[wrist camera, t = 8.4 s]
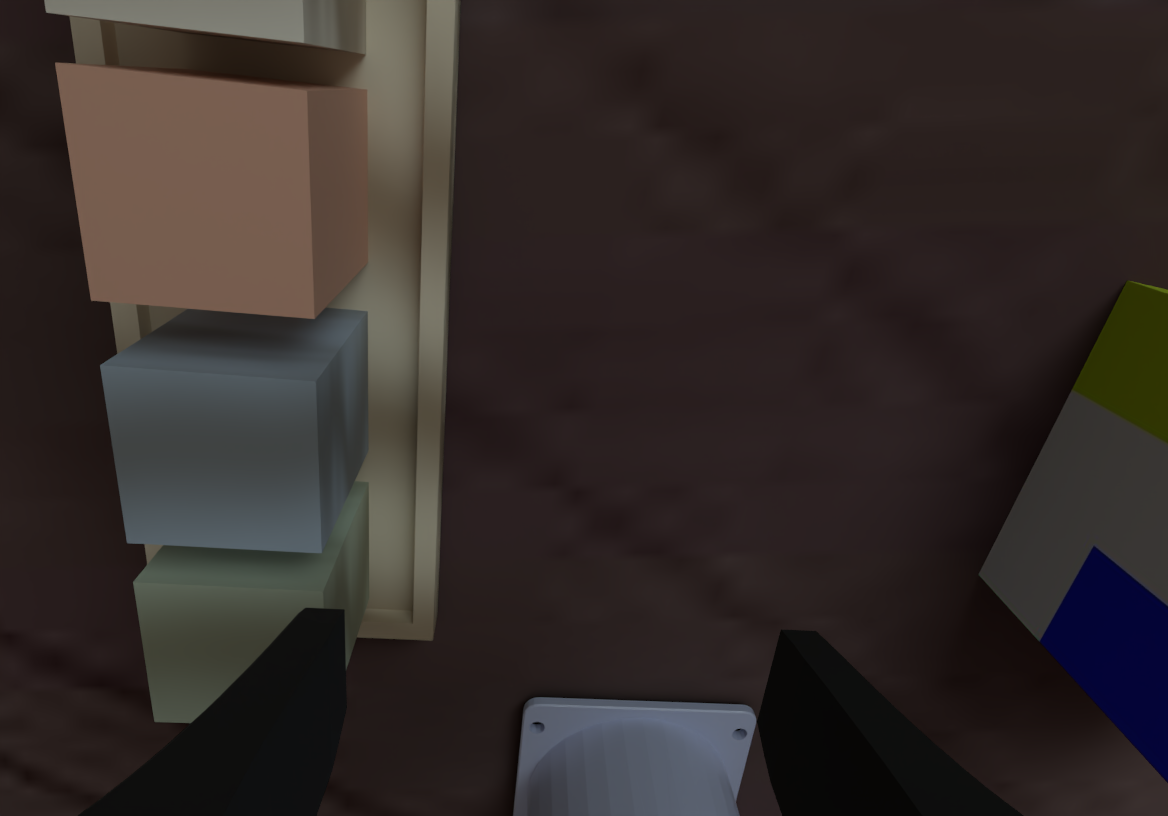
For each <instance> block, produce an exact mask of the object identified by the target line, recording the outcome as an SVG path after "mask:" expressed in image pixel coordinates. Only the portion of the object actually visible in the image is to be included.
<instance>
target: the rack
mask: <svg viewBox="0 0 1168 816" xmlns="http://www.w3.org/2000/svg"><path fill="white" fill-rule="evenodd" d="M44 1H45V8H46V13H53V14H60V15H66V16H70V23H71V30H72V37H73V45H74V52H75V59H76V64H95V65H116V66H136V67H156V68H177V69H191V70H199V71H208V72H217V73H226V74H235V75H244V76H252V77H261V78H270V79H279V80H288V81H297V82H305V83H314V84H323V85H332V86H341V87H349V88H358V89H367V112H368V263H367V264H366V265H365V266H364V267H363V268H362V269H361V270H360V271H359V272H358V274H357V275H356V276H355V277H354V278H353V279H352V280H351V281H350V282H349V283H348V284H347V285H346V286H345V287H344V288H343V289H342V291H341V292H340V293H339V294H338V295H337V296H336V297H335V298H334V299H333V300H332V301H331V302H330V303H329V304H328V305H327V306H326V308H325V309H324V310H323V311H322V312H321V313H320V314H319V315H318V316H317V317H316V318H315V319H307V318H295V317H283V316H271V315H259V314H247V313H235V312H223V311H211V310H199V309H187V308H175V307H163V306H151V305H139V304H127V303H115V302H110V305H111V312H112V319H113V326H114V333H115V340H116V347H117V355H115V356H114V357H112V358H111V359H109V360H107V361H106V362H104V363H103V364H101V365H100V368H101V375H102V381H103V388H104V394H105V401H106V408H107V414H108V421H109V427H110V434H111V440H112V447H113V453H114V460H115V467H116V473H117V480H118V486H119V493H120V499H121V506H122V512H123V519H124V526H125V532H126V539H127V543H134V544H145V551H146V558H147V566H146V567H145V568H144V569H143V571H142V572H141V573H140V574H139V576H138V577H137V578H136V579H135V581H134V582H133V585H134V591H135V598H136V604H137V611H138V617H139V624H140V631H141V637H142V644H143V650H144V657H145V663H146V670H147V676H148V683H149V690H150V696H151V703H152V709H153V716H154V722H173V723H192V722H193V721H194V720H195V719H196V718H197V717H198V716H199V715H200V714H201V713H203V712H204V711H205V710H206V709H207V708H208V707H209V706H210V705H211V704H212V703H213V702H214V701H215V700H216V699H217V698H218V697H219V696H220V695H221V694H222V693H223V692H224V691H225V690H226V689H227V688H228V687H229V686H230V685H231V684H232V683H233V682H234V681H235V680H236V679H237V678H238V677H239V676H240V675H241V674H242V673H243V672H244V671H245V670H246V669H247V668H248V667H249V666H250V665H251V664H252V663H253V662H254V661H255V660H256V659H257V658H258V657H259V656H260V655H261V654H262V653H263V651H264V650H265V649H266V648H267V647H268V646H269V645H270V644H271V643H272V642H273V641H274V640H275V639H276V637H277V636H278V635H279V634H280V633H281V632H282V631H283V630H284V629H285V628H286V626H287V625H288V624H289V623H290V622H291V621H292V620H293V619H294V618H295V616H296V615H297V614H298V613H299V612H301V611H302V610H303V609H304V608H325V609H345V653H346V669H347V666H348V663H349V660H350V657H351V654H352V650H353V647H354V644H355V641H356V638H357V637H361V638H384V639H408V640H431V641H433V637H434V631H435V626H436V620H437V613H438V587H439V560H440V534H441V507H442V481H443V454H444V428H445V401H446V375H447V348H448V322H449V295H450V269H451V242H452V216H453V189H454V163H455V136H456V110H457V83H458V57H459V30H460V4H461V0H44Z"/></svg>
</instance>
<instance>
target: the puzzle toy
mask: <svg viewBox="0 0 1168 816" xmlns="http://www.w3.org/2000/svg"><path fill="white" fill-rule="evenodd" d="M978 575H979V576H980V577H981V578H982V579H983V580H984V581H985V582H986V584H987V585H988V586H989V587H990V588H991V589H992V590H993V591H994V592H995V593H996V595H997V596H998V597H999V598H1000V599H1001V600H1002V601H1003V602H1004V603H1005V604H1006V606H1007V607H1008V608H1009V609H1010V610H1011V611H1012V612H1013V613H1014V614H1015V615H1016V617H1017V618H1018V619H1019V620H1020V621H1021V622H1022V623H1023V624H1024V625H1025V626H1026V628H1027V629H1028V630H1029V631H1030V632H1031V633H1032V634H1033V635H1034V636H1035V637H1036V639H1037V640H1038V641H1039V642H1040V643H1041V644H1042V645H1043V646H1044V647H1045V648H1046V650H1047V651H1048V652H1049V653H1050V654H1051V655H1052V656H1053V657H1054V658H1055V659H1056V661H1057V662H1058V663H1059V664H1060V665H1061V666H1062V667H1063V668H1064V669H1065V671H1066V672H1067V673H1068V674H1069V675H1070V676H1071V677H1072V678H1073V679H1074V680H1075V682H1076V683H1077V684H1078V685H1079V686H1080V687H1081V688H1082V689H1083V690H1084V691H1085V693H1086V694H1087V695H1088V696H1089V697H1090V698H1091V699H1092V700H1093V701H1094V702H1095V704H1096V705H1097V706H1098V707H1099V708H1100V709H1101V710H1102V711H1103V712H1104V713H1105V715H1106V716H1107V717H1108V718H1109V719H1110V720H1111V721H1112V722H1113V723H1114V724H1115V726H1116V727H1117V728H1118V729H1119V730H1120V731H1121V732H1122V733H1123V734H1124V735H1125V737H1126V738H1127V739H1128V740H1129V741H1130V742H1131V743H1132V744H1133V745H1134V746H1135V748H1136V749H1137V750H1138V751H1139V752H1140V753H1141V754H1142V755H1143V756H1144V757H1145V759H1146V760H1147V761H1148V762H1149V763H1150V764H1151V765H1152V766H1153V767H1154V768H1155V770H1156V771H1157V772H1158V773H1159V774H1160V775H1161V776H1162V777H1163V778H1164V779H1165V781H1166V782H1167V783H1168V290H1166V289H1162V288H1158V287H1153V286H1149V285H1145V284H1140V283H1136V282H1132V281H1127V282H1126V284H1125V286H1124V288H1123V290H1122V292H1121V294H1120V296H1119V298H1118V300H1117V302H1116V304H1115V306H1114V308H1113V310H1112V312H1111V314H1110V315H1109V317H1108V319H1107V321H1106V323H1105V325H1104V327H1103V329H1102V331H1101V333H1100V335H1099V337H1098V339H1097V341H1096V343H1095V345H1094V347H1093V349H1092V351H1091V353H1090V355H1089V357H1088V359H1087V361H1086V363H1085V365H1084V367H1083V369H1082V371H1081V373H1080V375H1079V377H1078V379H1077V381H1076V383H1075V385H1074V387H1073V389H1072V391H1071V393H1070V395H1069V397H1068V398H1067V400H1066V402H1065V404H1064V406H1063V408H1062V410H1061V412H1060V414H1059V416H1058V418H1057V420H1056V422H1055V424H1054V426H1053V428H1052V430H1051V432H1050V434H1049V436H1048V438H1047V440H1046V442H1045V444H1044V446H1043V448H1042V450H1041V452H1040V454H1039V456H1038V458H1037V460H1036V462H1035V464H1034V466H1033V468H1032V470H1031V472H1030V474H1029V476H1028V478H1027V480H1026V482H1025V483H1024V485H1023V487H1022V489H1021V491H1020V493H1019V495H1018V497H1017V499H1016V501H1015V503H1014V505H1013V507H1012V509H1011V511H1010V513H1009V515H1008V517H1007V519H1006V521H1005V523H1004V525H1003V527H1002V529H1001V531H1000V533H999V535H998V537H997V539H996V541H995V543H994V545H993V547H992V549H991V551H990V553H989V555H988V557H987V559H986V561H985V563H984V565H983V567H982V568H981V570H980V572H979V574H978Z"/></svg>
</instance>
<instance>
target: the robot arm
mask: <svg viewBox="0 0 1168 816" xmlns="http://www.w3.org/2000/svg"><path fill="white" fill-rule="evenodd" d="M346 708H347V700H346V653H345V609H325V608H304V609H303V610H302V611H301V612H299V613H298V614H297V615H296V616H295V618H294V619H293V620H292V621H291V622H290V623H289V624H288V625H287V626H286V628H285V629H284V630H283V631H282V632H281V633H280V634H279V635H278V636H277V637H276V639H275V640H274V641H273V642H272V643H271V644H270V645H269V646H268V647H267V648H266V649H265V650H264V651H263V653H262V654H261V655H260V656H259V657H258V658H257V659H256V660H255V661H254V662H253V663H252V664H251V665H250V666H249V667H248V668H247V669H246V670H245V671H244V672H243V673H242V674H241V675H240V676H239V677H238V678H237V679H236V680H235V681H234V682H233V683H232V684H231V685H230V686H229V687H228V688H227V689H226V690H225V691H224V692H223V693H222V694H221V695H220V696H219V697H218V698H217V699H216V700H215V701H214V702H213V703H212V704H211V705H210V706H209V707H208V708H207V709H206V710H205V711H204V712H203V713H201V714H200V715H199V716H198V717H197V718H196V719H195V720H194V721H193V722H192V723H190V724H189V725H188V726H187V727H186V728H185V729H184V730H183V731H182V732H181V733H179V734H178V735H177V736H176V737H175V738H174V739H173V740H172V741H171V742H170V743H168V744H167V745H166V746H165V747H164V748H163V749H162V750H160V751H159V752H158V753H157V754H156V755H155V756H153V757H152V758H151V759H150V760H149V761H147V762H146V763H145V764H144V765H143V766H141V767H140V768H139V769H138V770H137V771H135V772H134V773H133V774H132V775H130V776H129V777H128V778H127V779H125V780H124V781H123V782H122V783H120V784H119V785H118V786H116V787H115V788H114V789H113V790H111V791H110V792H109V793H108V794H106V795H105V796H104V797H102V798H101V799H100V800H98V801H97V802H96V803H94V804H93V805H92V806H90V807H89V808H88V809H86V810H85V811H83V812H82V813H81V814H79V815H78V816H316V815H317V812H318V809H319V807H320V804H321V801H322V798H323V795H324V792H325V789H326V787H327V784H328V781H329V778H330V775H331V772H332V769H333V764H334V760H335V756H336V752H337V748H338V744H339V739H340V735H341V731H342V726H343V722H344V717H345V713H346ZM534 722H541V724H537V725H536V724H532V723H534ZM757 723H758V728H759V732H760V737H761V742H762V747H763V751H764V756H765V760H766V764H767V769H768V773H769V777H770V781H771V784H772V787H773V790H774V793H775V796H776V799H777V802H778V804H779V807H780V810H781V813H782V816H1023V815H1022V814H1021V813H1019V812H1018V811H1017V810H1015V809H1014V808H1013V807H1011V806H1010V805H1009V804H1007V803H1006V802H1005V801H1003V800H1002V799H1001V798H999V797H998V796H997V795H996V794H994V793H993V792H992V791H990V790H989V789H988V788H987V787H985V786H984V785H983V784H982V783H980V782H979V781H978V780H977V779H975V778H974V777H973V776H972V775H970V774H969V773H968V772H967V771H966V770H965V769H963V768H962V767H961V766H960V765H959V764H958V763H956V762H955V761H954V760H953V759H952V758H951V757H949V756H948V755H947V754H946V753H945V752H944V751H942V750H941V749H940V748H939V747H938V746H937V745H935V744H934V743H933V742H932V741H931V740H930V739H929V738H928V737H927V736H925V735H924V734H923V733H922V732H921V731H920V730H919V729H918V728H917V727H915V726H914V725H913V724H912V723H911V722H910V721H909V720H908V719H907V718H906V717H905V716H904V715H903V714H901V713H900V712H899V711H898V710H897V709H896V708H895V707H894V706H893V705H892V704H891V703H890V702H889V701H888V700H887V699H886V698H885V697H884V696H883V695H881V694H880V693H879V692H878V691H877V690H876V689H875V688H874V687H873V686H872V685H871V684H870V683H869V682H868V681H867V680H866V679H865V678H864V677H863V676H862V675H861V674H860V673H859V672H858V671H857V670H856V669H855V668H854V667H853V666H852V665H851V664H850V663H849V662H848V661H847V660H846V659H845V658H844V657H843V656H842V655H841V654H840V653H838V652H837V651H836V650H835V649H834V648H833V647H832V646H831V645H830V644H829V643H828V642H827V641H826V640H825V639H824V638H823V637H822V636H820V635H819V634H818V633H817V632H816V631H799V630H781V632H780V635H779V639H778V643H777V647H776V651H775V655H774V659H773V662H772V666H771V670H770V674H769V678H768V682H767V686H766V690H765V693H764V697H763V701H762V705H761V709H760V713H759V717H758V720H757ZM755 725H756V717H755V714H754V711H753V710H752V708H751V707H749V706H747V705H741V704H714V703H686V702H658V701H631V700H603V699H575V698H548V697H537V698H532V699H530V700H528V701H527V702H526V703H525V705H524V708H523V717H522V728H521V738H520V748H519V758H518V768H517V779H516V789H515V799H514V809H513V816H739V812H738V809H737V805H736V799H737V795H738V791H739V787H740V783H741V779H742V775H743V772H744V768H745V764H746V760H747V756H748V752H749V748H750V744H751V741H752V737H753V733H754V729H755ZM736 729H741V730H739V731H735V730H736Z"/></svg>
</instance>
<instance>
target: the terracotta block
mask: <svg viewBox="0 0 1168 816" xmlns="http://www.w3.org/2000/svg"><path fill="white" fill-rule="evenodd" d="M55 65H56V72H57V79H58V85H59V92H60V98H61V105H62V112H63V118H64V125H65V131H66V138H67V145H68V151H69V158H70V164H71V171H72V178H73V184H74V191H75V197H76V204H77V211H78V217H79V224H80V230H81V237H82V244H83V250H84V257H85V263H86V270H87V277H88V283H89V290H90V296H91V301H103V302H115V303H127V304H139V305H151V306H163V307H175V308H187V309H199V310H211V311H223V312H235V313H247V314H259V315H271V316H283V317H295V318H307V319H315V318H316V317H317V316H318V315H319V314H320V313H321V312H322V311H323V310H324V309H325V308H326V306H327V305H328V304H329V303H330V302H331V301H332V300H333V299H334V298H335V297H336V296H337V295H338V294H339V293H340V292H341V291H342V289H343V288H344V287H345V286H346V285H347V284H348V283H349V282H350V281H351V280H352V279H353V278H354V277H355V276H356V275H357V274H358V272H359V271H360V270H361V269H362V268H363V267H364V266H365V265H366V264H367V263H368V112H367V89H358V88H349V87H341V86H332V85H323V84H314V83H305V82H297V81H288V80H279V79H270V78H261V77H252V76H244V75H235V74H226V73H217V72H208V71H199V70H191V69H177V68H156V67H136V66H116V65H95V64H75V63H55Z"/></svg>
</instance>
